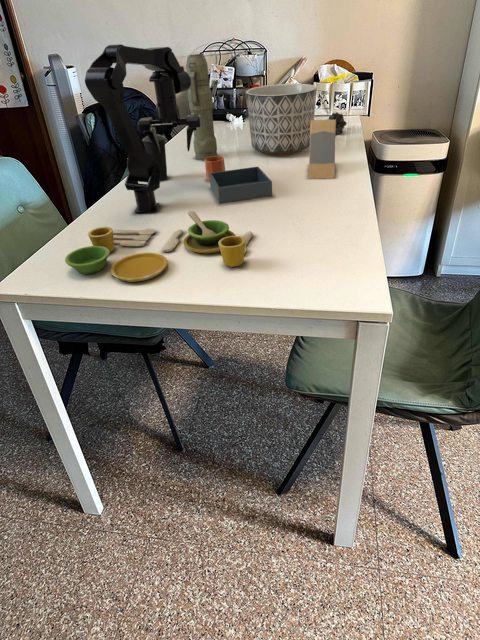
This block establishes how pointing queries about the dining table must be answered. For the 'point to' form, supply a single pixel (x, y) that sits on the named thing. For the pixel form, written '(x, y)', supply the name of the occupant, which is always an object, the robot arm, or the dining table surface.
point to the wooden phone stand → (322, 149)
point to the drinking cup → (158, 154)
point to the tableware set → (149, 265)
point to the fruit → (338, 122)
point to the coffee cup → (214, 165)
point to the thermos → (201, 106)
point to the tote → (240, 185)
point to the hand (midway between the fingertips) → (174, 152)
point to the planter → (281, 117)
